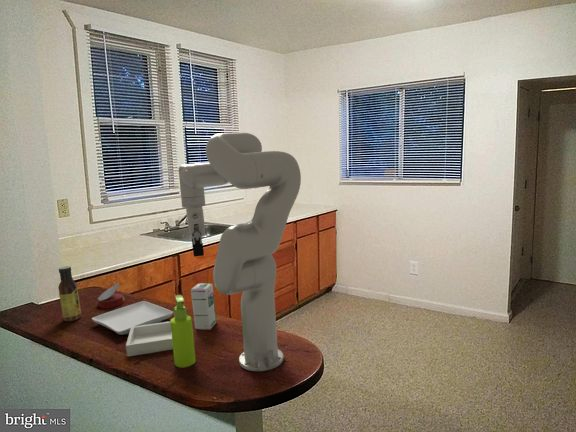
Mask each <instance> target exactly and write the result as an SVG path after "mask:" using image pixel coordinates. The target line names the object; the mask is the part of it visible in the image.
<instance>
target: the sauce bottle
mask: <svg viewBox="0 0 576 432" xmlns="http://www.w3.org/2000/svg"><path fill="white" fill-rule="evenodd" d="M58 273H59V276H60V281H59V282H60V283H59V284H58V293H59V294H58V295H59V296H58V297H59V303H60V307H61V308H60V309H61V313H62V318H63V321H65V322H68V323H69V322H74V321H77V320H80V318H81V317H82V309H81V303H80V302H81V301H80V295H79V290H78V286H77V283H76V282H75V281H74V278H73V276H72V267H71V266H62V267H59V268H58Z"/></svg>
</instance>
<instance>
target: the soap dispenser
mask: <svg viewBox="0 0 576 432" xmlns="http://www.w3.org/2000/svg"><path fill="white" fill-rule="evenodd" d="M174 299H175V306H174V307H173V316H174V317H171V319H170V324H171V334H172V343H173V349H172V352H173V360H174V366H175V367H177V368H188V367H190V366H192V365H194V364H195V363H196V360H197V359H196V351H195V349H196V348H195V337H194V331H193V330H194V329H193V319H192V316H190V315H188V313H187V306H186V305H184V304H183V303H185V298H184V297H183V295H182V294H177V295H176V294H175V295H174Z"/></svg>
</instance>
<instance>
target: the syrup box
mask: <svg viewBox="0 0 576 432" xmlns="http://www.w3.org/2000/svg"><path fill="white" fill-rule="evenodd" d="M190 293H191V295H190V296H191V303H192V311H193V313H192V314H193V321H194V329H195V330H212V328H213V327H214V326H215V325H216V324H217V314H216V313H217V312H216V305H215V295H214V293H215V292H214V285H213V283H206V282H204V283H203V282H202V283H197V284H196V285H195V286H193V287H192V288H191V289H190Z"/></svg>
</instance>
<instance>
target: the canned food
mask: <svg viewBox="0 0 576 432" xmlns="http://www.w3.org/2000/svg"><path fill="white" fill-rule="evenodd" d="M119 285H120V282H118V283H117V282H116V283H115V284H113V285H112V286H111V287H109V288H107V289H106V290H105V291H104V292H102V293H101V294H100V295H99V296H98V298H97V303H98V307H99V308H102V309H110V308H115V307H118V306H121V305H122V304H124V303H125V296H124V293H123V292H116V291H117V289H118V288H119Z"/></svg>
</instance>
